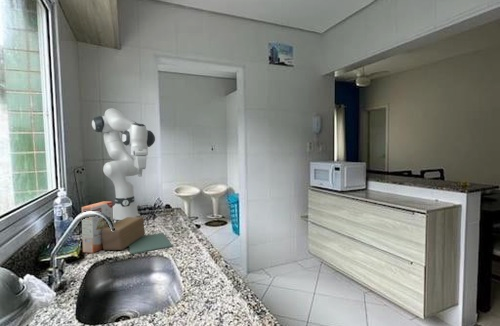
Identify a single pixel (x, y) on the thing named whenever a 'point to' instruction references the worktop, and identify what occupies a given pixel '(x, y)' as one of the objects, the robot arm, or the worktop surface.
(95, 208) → the cracker box
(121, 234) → the wooden block
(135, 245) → the mat
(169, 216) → the worktop surface
